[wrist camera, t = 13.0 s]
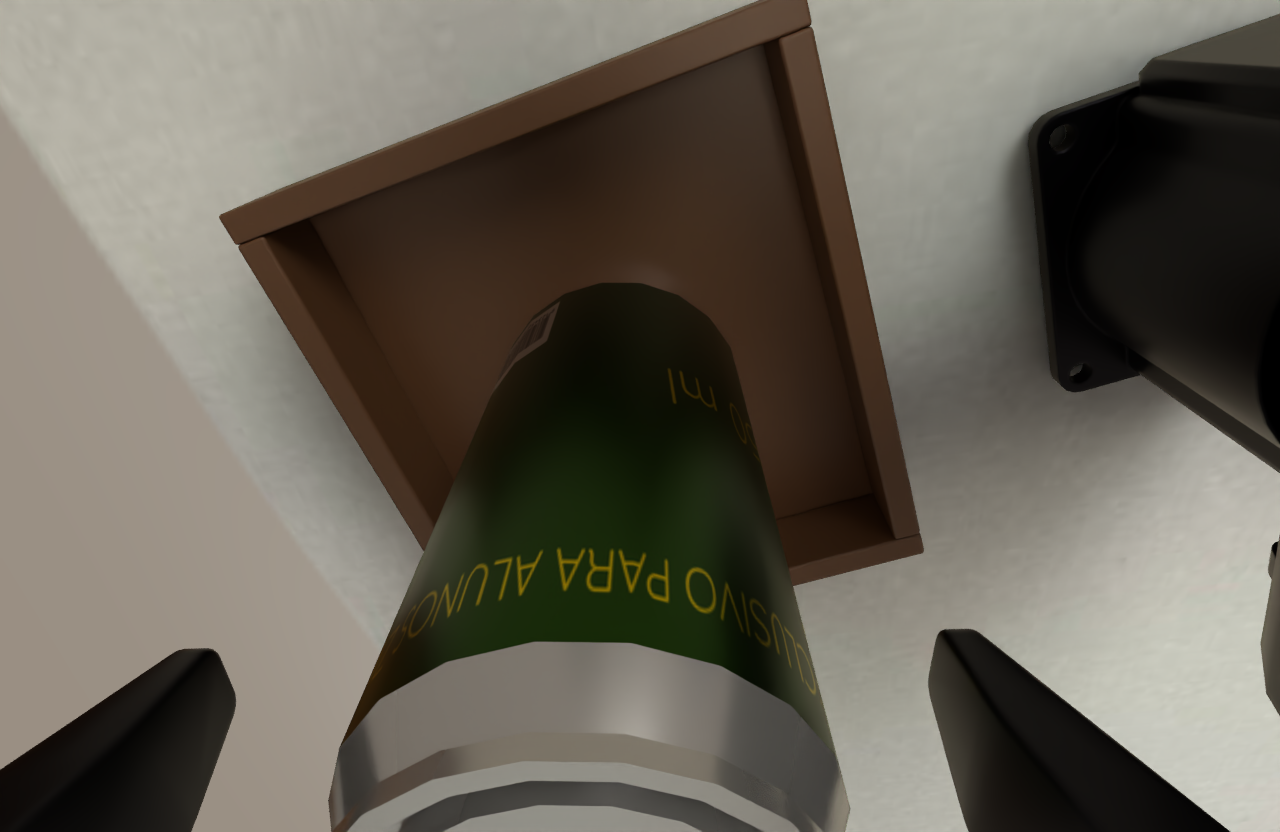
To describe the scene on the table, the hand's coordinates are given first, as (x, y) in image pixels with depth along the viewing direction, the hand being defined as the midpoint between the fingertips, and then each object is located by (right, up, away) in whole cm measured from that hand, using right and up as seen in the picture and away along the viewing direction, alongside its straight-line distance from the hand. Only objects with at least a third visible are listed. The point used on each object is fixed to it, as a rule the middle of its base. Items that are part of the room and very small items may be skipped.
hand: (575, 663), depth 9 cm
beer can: (0, +4, +8) cm, 9 cm away
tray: (0, +5, +9) cm, 10 cm away
